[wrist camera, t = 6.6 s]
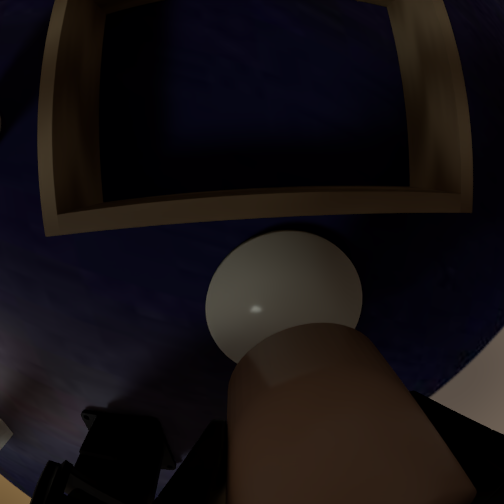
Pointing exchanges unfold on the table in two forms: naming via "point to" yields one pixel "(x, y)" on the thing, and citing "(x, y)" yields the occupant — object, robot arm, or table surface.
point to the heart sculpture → (4, 433)
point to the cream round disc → (280, 289)
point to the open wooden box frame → (254, 199)
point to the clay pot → (331, 427)
